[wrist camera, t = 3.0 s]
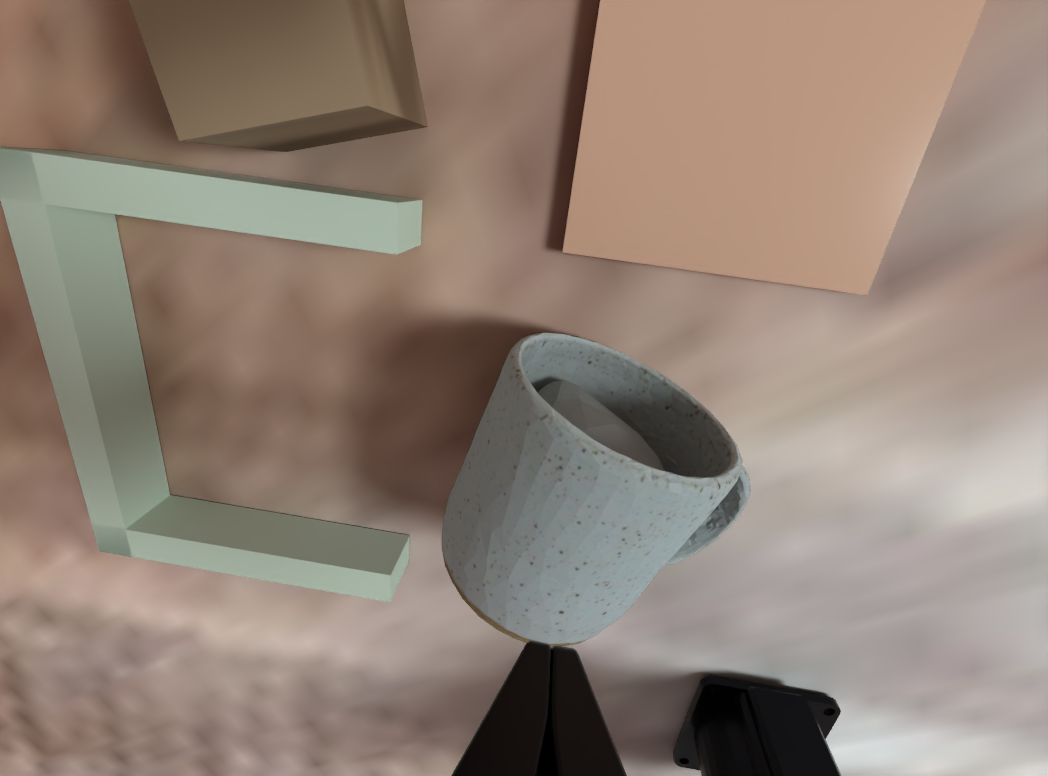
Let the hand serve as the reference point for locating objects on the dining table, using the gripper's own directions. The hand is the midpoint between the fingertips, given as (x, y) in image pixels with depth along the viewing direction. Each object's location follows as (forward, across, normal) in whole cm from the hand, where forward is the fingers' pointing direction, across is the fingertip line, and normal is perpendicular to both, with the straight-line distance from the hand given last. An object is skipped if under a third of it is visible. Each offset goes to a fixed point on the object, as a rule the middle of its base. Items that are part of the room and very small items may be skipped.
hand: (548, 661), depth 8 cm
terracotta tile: (+12, -4, -10) cm, 16 cm away
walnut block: (+12, +9, -10) cm, 18 cm away
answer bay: (+12, +12, +2) cm, 17 cm away
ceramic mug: (+12, -2, +2) cm, 12 cm away
